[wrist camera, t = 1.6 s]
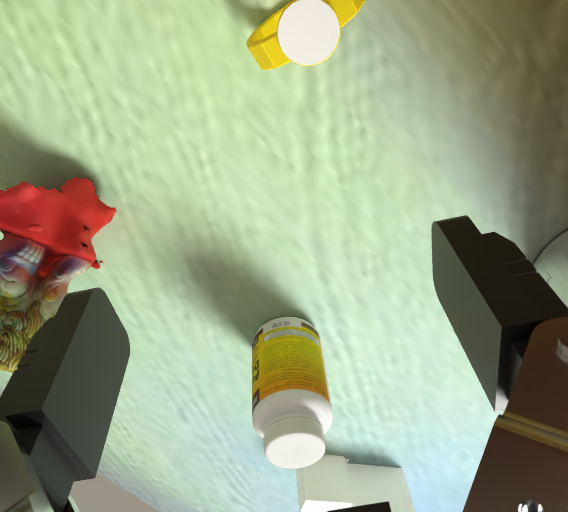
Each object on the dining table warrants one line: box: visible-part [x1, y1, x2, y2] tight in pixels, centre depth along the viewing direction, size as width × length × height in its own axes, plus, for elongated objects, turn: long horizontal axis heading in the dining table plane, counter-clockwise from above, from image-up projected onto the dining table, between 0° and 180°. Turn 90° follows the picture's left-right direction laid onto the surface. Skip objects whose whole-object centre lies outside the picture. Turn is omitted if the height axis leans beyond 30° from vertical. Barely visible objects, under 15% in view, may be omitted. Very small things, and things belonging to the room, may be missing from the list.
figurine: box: [0, 177, 116, 373], centre depth 29 cm, size 8×10×12 cm
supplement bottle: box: [252, 317, 333, 468], centre depth 35 cm, size 6×6×10 cm
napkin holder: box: [296, 454, 415, 512], centre depth 48 cm, size 15×11×6 cm
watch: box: [246, 0, 365, 70], centre depth 23 cm, size 6×3×6 cm, turn 122°
